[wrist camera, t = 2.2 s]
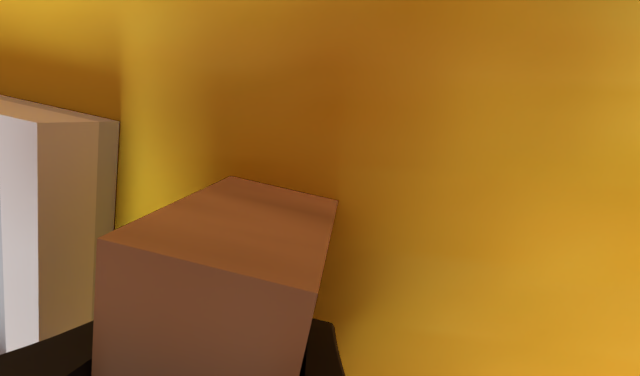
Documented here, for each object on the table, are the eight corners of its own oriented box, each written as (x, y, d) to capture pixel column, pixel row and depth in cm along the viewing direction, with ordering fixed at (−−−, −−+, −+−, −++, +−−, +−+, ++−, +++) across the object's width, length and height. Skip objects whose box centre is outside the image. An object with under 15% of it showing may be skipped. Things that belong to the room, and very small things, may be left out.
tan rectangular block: (289, 413, 12) (236, 645, 6) (200, 389, 12) (82, 594, 7) (338, 200, 10) (318, 293, 5) (230, 176, 10) (96, 238, 5)
